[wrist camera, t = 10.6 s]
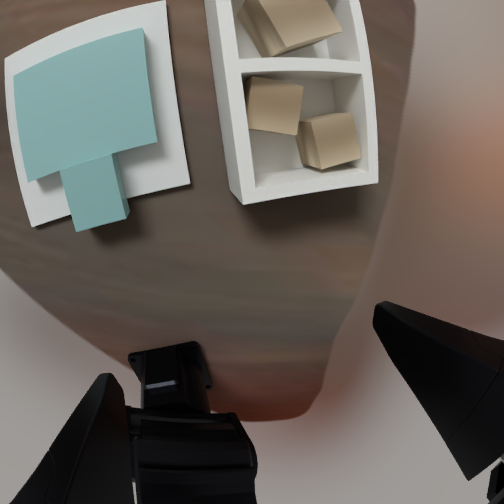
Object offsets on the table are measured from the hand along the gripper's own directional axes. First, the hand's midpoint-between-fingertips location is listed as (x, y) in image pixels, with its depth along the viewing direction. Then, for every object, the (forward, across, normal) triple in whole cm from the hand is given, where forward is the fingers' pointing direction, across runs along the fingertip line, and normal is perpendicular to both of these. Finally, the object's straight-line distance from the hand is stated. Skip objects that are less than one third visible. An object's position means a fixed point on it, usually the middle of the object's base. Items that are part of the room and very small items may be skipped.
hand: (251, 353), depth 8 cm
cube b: (+12, -5, -7) cm, 15 cm away
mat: (+12, +6, -10) cm, 17 cm away
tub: (+12, -6, -10) cm, 17 cm away
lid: (+12, +6, -8) cm, 16 cm away
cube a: (+12, -8, -5) cm, 16 cm away
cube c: (+12, -6, -13) cm, 19 cm away
